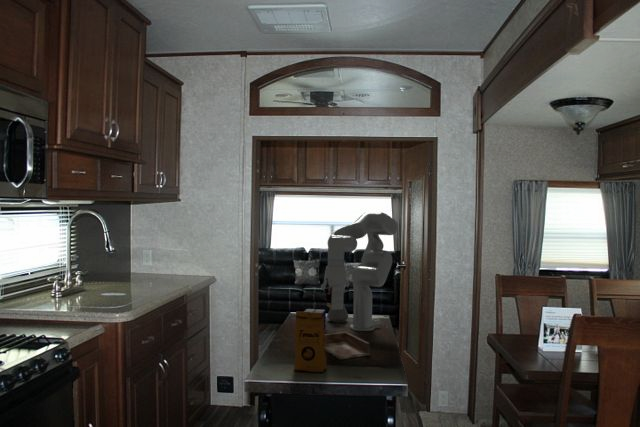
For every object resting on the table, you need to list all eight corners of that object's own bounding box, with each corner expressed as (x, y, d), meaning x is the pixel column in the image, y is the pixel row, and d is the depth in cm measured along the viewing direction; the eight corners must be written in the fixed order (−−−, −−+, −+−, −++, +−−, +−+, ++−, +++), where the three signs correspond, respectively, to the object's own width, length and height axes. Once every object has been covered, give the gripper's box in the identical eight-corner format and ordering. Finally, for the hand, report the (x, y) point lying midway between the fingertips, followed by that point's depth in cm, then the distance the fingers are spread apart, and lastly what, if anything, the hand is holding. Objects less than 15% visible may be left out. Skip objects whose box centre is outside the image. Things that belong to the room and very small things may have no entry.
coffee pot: (350, 319, 263) (350, 292, 262) (346, 324, 251) (346, 295, 251) (312, 316, 268) (312, 290, 268) (307, 321, 257) (307, 293, 256)
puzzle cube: (321, 334, 231) (322, 314, 231) (301, 333, 233) (301, 312, 233) (325, 329, 241) (325, 309, 241) (306, 328, 243) (306, 308, 243)
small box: (326, 306, 224) (327, 283, 224) (338, 305, 225) (338, 283, 225) (331, 309, 216) (332, 286, 216) (343, 309, 218) (343, 286, 218)
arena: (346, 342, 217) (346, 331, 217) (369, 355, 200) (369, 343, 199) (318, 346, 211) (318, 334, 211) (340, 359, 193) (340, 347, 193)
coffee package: (323, 375, 175) (324, 315, 174) (290, 372, 178) (291, 313, 177) (329, 366, 184) (329, 309, 184) (298, 364, 187) (298, 308, 187)
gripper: (345, 261, 229) (344, 298, 229) (315, 263, 219) (315, 302, 219) (355, 263, 223) (354, 301, 223) (325, 265, 213) (325, 305, 213)
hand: (335, 301), depth 221 cm, fingers closed on small box, 7 cm apart
